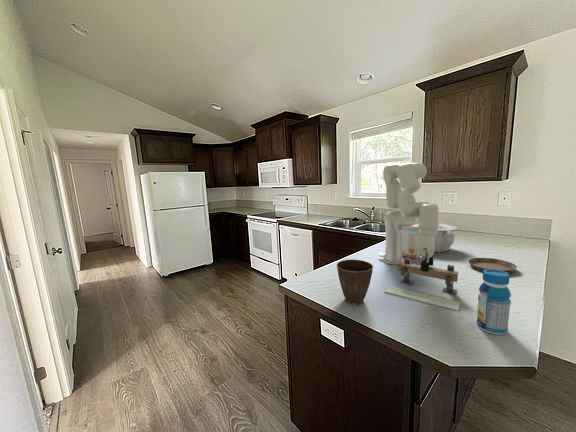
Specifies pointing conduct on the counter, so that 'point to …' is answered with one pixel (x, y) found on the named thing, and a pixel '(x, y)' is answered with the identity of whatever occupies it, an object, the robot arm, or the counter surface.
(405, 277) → the bracket
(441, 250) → the chamber pot
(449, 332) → the counter surface
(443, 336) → the counter surface
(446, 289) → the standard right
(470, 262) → the plant saucer
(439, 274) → the rail
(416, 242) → the cracker box
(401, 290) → the board
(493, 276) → the beverage bottle
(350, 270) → the plant pot
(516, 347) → the counter surface
